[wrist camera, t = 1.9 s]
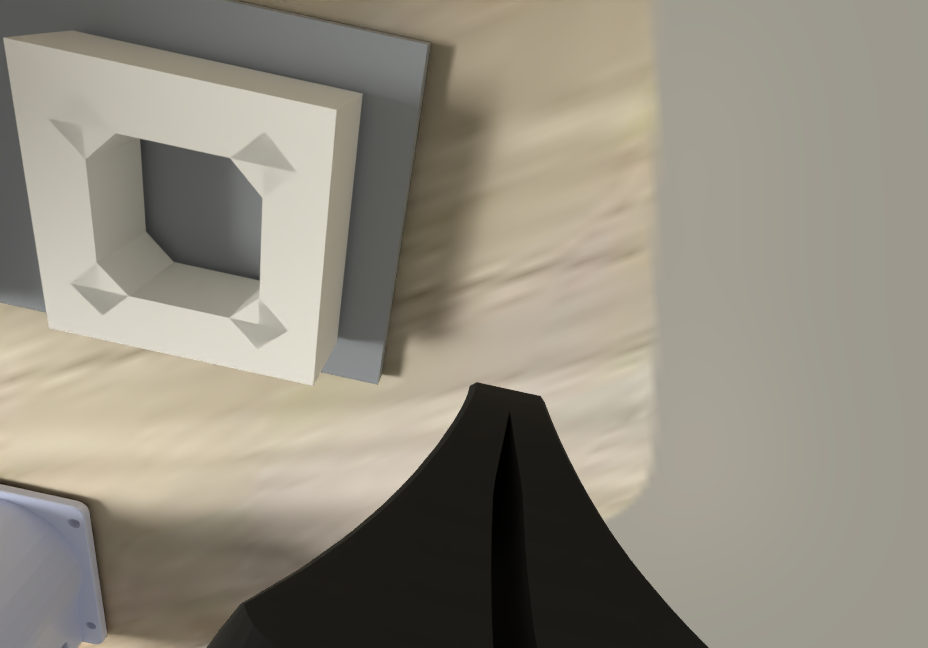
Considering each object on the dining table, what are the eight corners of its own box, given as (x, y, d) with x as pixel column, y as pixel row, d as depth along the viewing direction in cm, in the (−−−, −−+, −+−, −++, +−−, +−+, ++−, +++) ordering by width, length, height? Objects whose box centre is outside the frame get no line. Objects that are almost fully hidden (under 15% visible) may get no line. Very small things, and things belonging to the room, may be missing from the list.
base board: (381, 375, 22) (347, 458, 18) (-87, 273, 22) (-221, 335, 18) (431, 42, 17) (398, 60, 13) (-184, -91, 17) (-401, -113, 13)
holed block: (336, 343, 21) (313, 385, 19) (100, 291, 21) (48, 328, 19) (362, 93, 17) (336, 110, 15) (72, 30, 17) (3, 37, 15)
